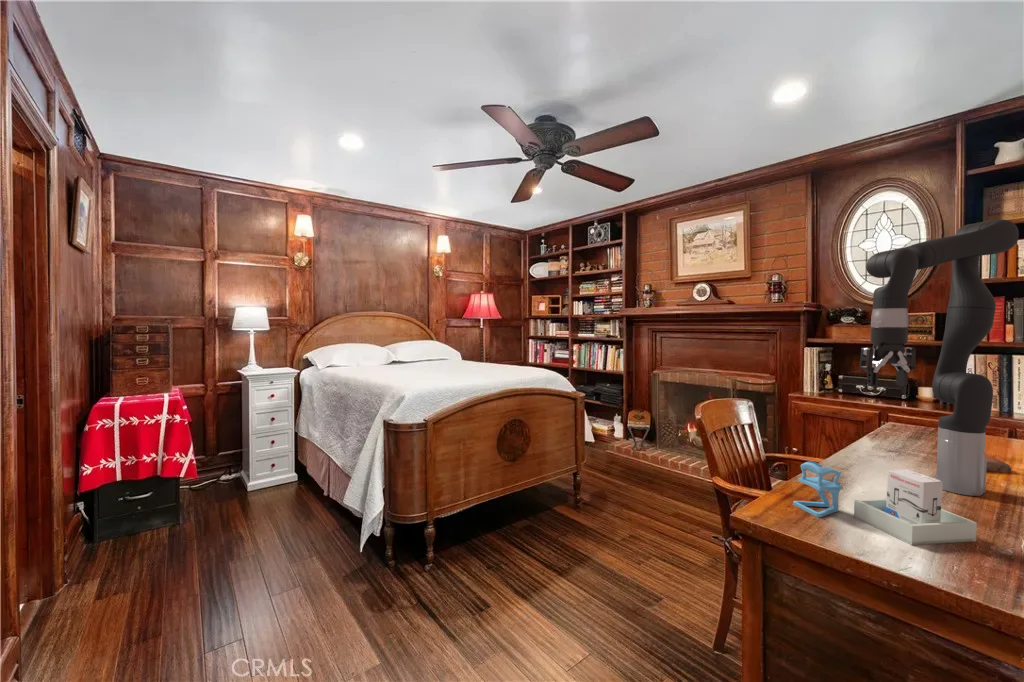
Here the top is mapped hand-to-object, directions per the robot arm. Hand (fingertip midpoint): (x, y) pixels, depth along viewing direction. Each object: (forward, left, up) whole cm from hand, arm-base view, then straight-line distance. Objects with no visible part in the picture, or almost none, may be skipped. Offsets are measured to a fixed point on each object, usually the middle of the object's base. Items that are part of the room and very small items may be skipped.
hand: (886, 386), depth 116 cm
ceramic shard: (-53, -21, -31) cm, 65 cm away
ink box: (+11, +17, -30) cm, 36 cm away
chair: (+24, +6, -30) cm, 39 cm away
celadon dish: (+11, +17, -30) cm, 36 cm away
